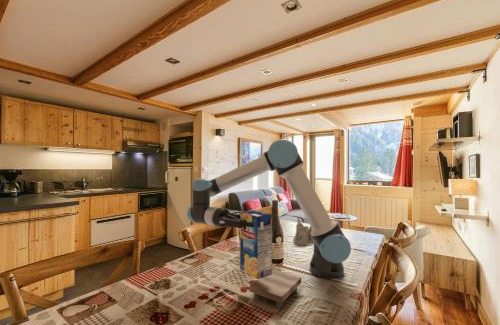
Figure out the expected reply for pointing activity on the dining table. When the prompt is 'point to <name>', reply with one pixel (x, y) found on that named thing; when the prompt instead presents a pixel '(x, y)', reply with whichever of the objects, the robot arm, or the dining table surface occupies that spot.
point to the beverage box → (256, 244)
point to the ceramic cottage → (303, 235)
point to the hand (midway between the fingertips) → (266, 224)
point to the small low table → (275, 287)
